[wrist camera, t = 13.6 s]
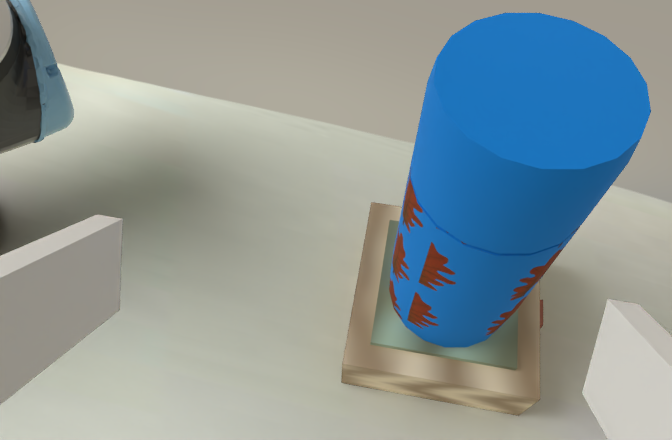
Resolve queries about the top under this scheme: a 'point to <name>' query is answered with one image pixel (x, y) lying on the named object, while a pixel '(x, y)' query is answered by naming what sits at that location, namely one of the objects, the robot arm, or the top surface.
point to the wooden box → (430, 359)
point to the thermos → (508, 167)
